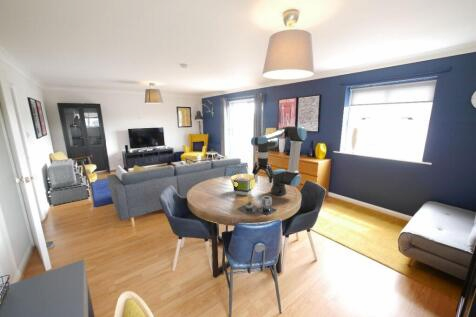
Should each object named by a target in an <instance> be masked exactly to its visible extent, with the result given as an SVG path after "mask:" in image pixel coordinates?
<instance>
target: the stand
mask: <svg viewBox="0 0 476 317" xmlns="http://www.w3.org/2000/svg"><path fill="white" fill-rule="evenodd" d="M266 199H267V198H266ZM256 210H257V209H256ZM276 210H277V211H278V209H277V208H273V207H271V205H270V206H264V205H262V206H261V207H260V209H258V211H257V212H259V213H261V214H263V215H265V216H270V215H271V214H273V213H275V212H277V211H276Z"/></svg>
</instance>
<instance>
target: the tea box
mask: <svg viewBox="0 0 476 317" xmlns="http://www.w3.org/2000/svg"><path fill="white" fill-rule="evenodd" d="M232 180H233V181H234V182H237V183H238V186H237V187H235V186H234V185H233V194H234V195H241V196H247V197H248V196H249V195H250V194H251V193H252V188H251V189H250V181H251V182H252V178H251V177H250V178H249V177H240V176H236V177H235V178H234V179H232ZM234 182H233V183H234Z"/></svg>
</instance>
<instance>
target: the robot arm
mask: <svg viewBox="0 0 476 317" xmlns="http://www.w3.org/2000/svg"><path fill="white" fill-rule="evenodd" d="M307 134H308V132H307V130H306V128H305V127H303V126H299V125H298V126H291V125H290V126H284V127H281V128H278V129H276V130H275V131H272V132H269V133H267V134H262V135H261V136H253V137H252V138H251V139H250V144H251V145H252V146H253V147H257V162H255V163H254V167H253V169H252V171H251V173H252V174H253V178H254V184H257V183H259V181H258V175H259V174H258V173H259V172H260V170H262V171H264V172H265V174H266V176H267V177H268V179H267V181H268V182H267V187H268V188H271V189H270V194H272V195H273V196H286V194H287V189H286V186H289V187H295V188H296V187H298V186H299V185H300V183H301V181H302V175H301V174H300V171H299V163H300V156H301V147H302V144H303V143H304V141H305V140H306V139H307V136H308V135H307ZM282 139H283V140H289V142H290V150H289V151H290V152H289V158H288V169H287V170H286V169H285V168H283V169H282V168H281V169H278V168H277V169H275V170H273V169H272V164H268V163H269V158H268V157H269V149H274V148H276V147H278V145H279V140H282Z"/></svg>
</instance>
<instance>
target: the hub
mask: <svg viewBox="0 0 476 317" xmlns="http://www.w3.org/2000/svg"><path fill="white" fill-rule="evenodd" d="M256 209H257V210H256ZM258 209H260V207H259V206H257V205H254V204H253V203H252V197H251V196H249V197H248V196H247V203H246V204H243V205H242V206H239V207H238V208H237V210H239V211H241V212H243V213H245V214H247V215H250V216H251V215H252V214H254V212H255V213H257V212H259V211H258Z"/></svg>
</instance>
